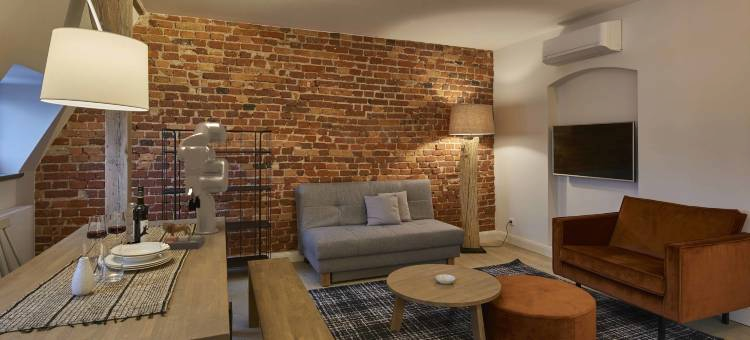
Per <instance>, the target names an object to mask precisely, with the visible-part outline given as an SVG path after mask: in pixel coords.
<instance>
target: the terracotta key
mask: <svg viewBox="0 0 750 340" xmlns="http://www.w3.org/2000/svg"><path fill="white" fill-rule="evenodd" d="M179 237H180V236H179V235H174V236H171V235H169V236H168V237H166V240H167V241H177V240H179Z"/></svg>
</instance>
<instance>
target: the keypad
mask: <svg viewBox="0 0 750 340" xmlns="http://www.w3.org/2000/svg"><path fill="white" fill-rule="evenodd" d="M162 243H165V244H168V245H169V246H170V250H169V251H176V250H178V251H179V250H199V249H200V248H201V247H203V245H204V244H205V243H206V238H205V236H201V239H200V240H195V241H190V239H189V240H188V241H179V240H177V241H167V239H166V240H165V241H163V242H162Z"/></svg>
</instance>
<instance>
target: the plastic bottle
mask: <svg viewBox="0 0 750 340" xmlns="http://www.w3.org/2000/svg"><path fill="white" fill-rule="evenodd" d="M135 206H136V207H137V203H136V202H127V203H126V207H127V209H125V211H124V213H125V215H126V221H125V223H126V222H127V228H126V227H125V228H126V229H125V236H124V239H126V240H125V242H126V241H127V242H132V241H133V207H135ZM127 242H126V243H127Z"/></svg>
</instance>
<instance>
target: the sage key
mask: <svg viewBox="0 0 750 340" xmlns="http://www.w3.org/2000/svg"><path fill="white" fill-rule="evenodd" d="M201 237H202V234H193V235H191V237H190V241H195V240H200V239H201Z"/></svg>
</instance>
